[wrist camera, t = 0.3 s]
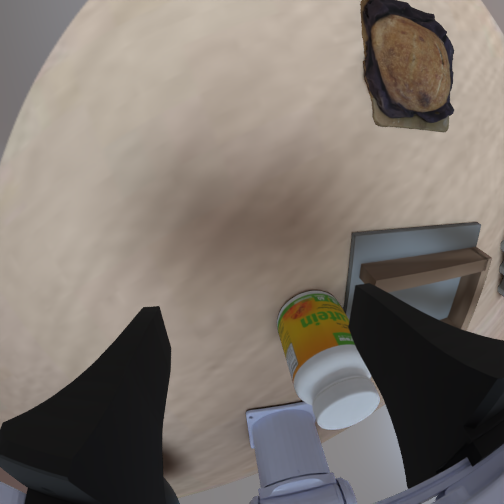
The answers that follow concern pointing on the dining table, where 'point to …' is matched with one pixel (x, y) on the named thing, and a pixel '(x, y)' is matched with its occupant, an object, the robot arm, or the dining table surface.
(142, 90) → the dining table surface
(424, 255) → the cradle
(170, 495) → the bowl of black rocks
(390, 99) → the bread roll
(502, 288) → the egg carton
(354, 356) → the supplement bottle
